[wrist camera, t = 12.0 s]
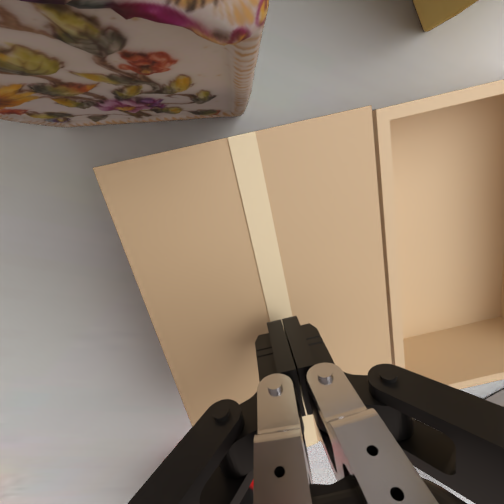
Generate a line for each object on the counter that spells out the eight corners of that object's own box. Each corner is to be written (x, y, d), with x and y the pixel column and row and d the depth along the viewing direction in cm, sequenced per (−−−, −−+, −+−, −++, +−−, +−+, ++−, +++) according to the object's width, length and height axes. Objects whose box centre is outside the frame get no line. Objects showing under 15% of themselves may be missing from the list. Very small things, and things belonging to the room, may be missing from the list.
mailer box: (335, 123, 19) (376, 109, 13) (518, 80, 18) (630, 49, 13) (362, 350, 24) (398, 403, 19) (502, 318, 24) (576, 362, 19)
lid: (372, 105, 13) (364, 107, 13) (91, 167, 11) (96, 167, 12) (396, 412, 19) (390, 405, 19) (213, 482, 17) (212, 473, 18)
